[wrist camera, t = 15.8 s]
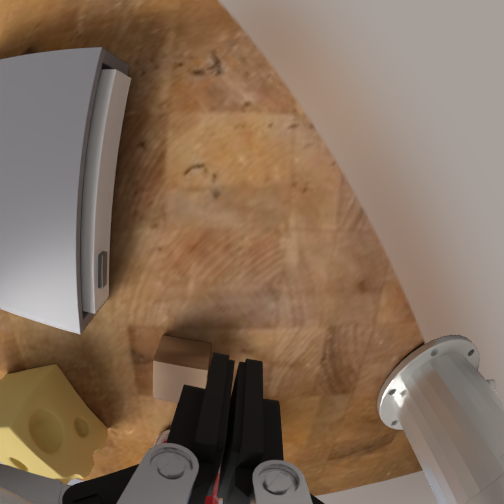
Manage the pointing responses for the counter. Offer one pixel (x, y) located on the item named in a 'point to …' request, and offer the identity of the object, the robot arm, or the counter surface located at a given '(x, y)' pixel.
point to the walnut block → (179, 367)
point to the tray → (100, 186)
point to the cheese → (47, 425)
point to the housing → (46, 180)
